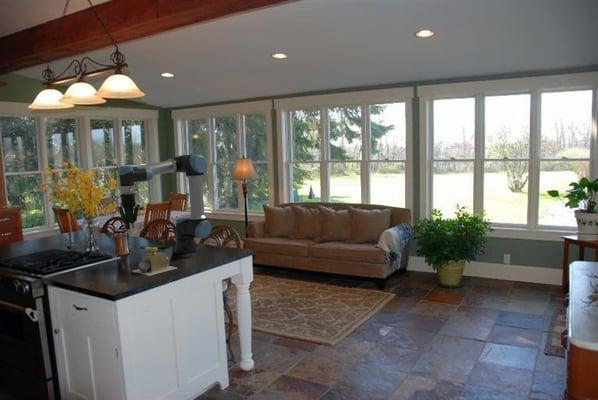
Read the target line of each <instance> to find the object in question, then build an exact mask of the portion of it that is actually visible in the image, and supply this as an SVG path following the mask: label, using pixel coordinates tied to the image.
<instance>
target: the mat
mask: <svg viewBox="0 0 598 400" xmlns="http://www.w3.org/2000/svg"><path fill="white" fill-rule="evenodd" d="M177 269H178V267H176V266H171V265H169V266H167V269H164V270H160V271H156V272H152V273H151V272H145V273H143V272H142V271H140V270H139V268H138V269H134V270H131V272H133V273H137V274H141V275H145V276H149V277H150V276H153V275H157V274H160V273H162V274H163V273H166V272H168V271H172V270H177Z"/></svg>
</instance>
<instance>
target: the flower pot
mask: <svg viewBox="0 0 598 400" xmlns="http://www.w3.org/2000/svg"><path fill="white" fill-rule="evenodd" d="M156 248H157V251H156V252H162V253H166V256H167V257H169V259H170V260H171V259H172V257H173V249H174V248H173V246H164V245H163V246H158V247H156Z"/></svg>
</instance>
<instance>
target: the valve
mask: <svg viewBox="0 0 598 400" xmlns="http://www.w3.org/2000/svg"><path fill="white" fill-rule="evenodd" d="M170 264H171V259H169V257H167V256H166V253H162V252H156V251H154V252H149V253H145V254H141V260H140V261H139V263H138V264H137V265H138V266H137V267H138V269H139V270H140V271H142V272H143V273H145V272H151V273H152V272H156V271H160V270H164V269H167V266H170Z"/></svg>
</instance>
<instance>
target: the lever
mask: <svg viewBox="0 0 598 400" xmlns="http://www.w3.org/2000/svg"><path fill="white" fill-rule="evenodd" d="M157 248H158V247H150V246H147V245H141V246H139V250H146V251H149V253H151V252H154V251H157Z"/></svg>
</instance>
